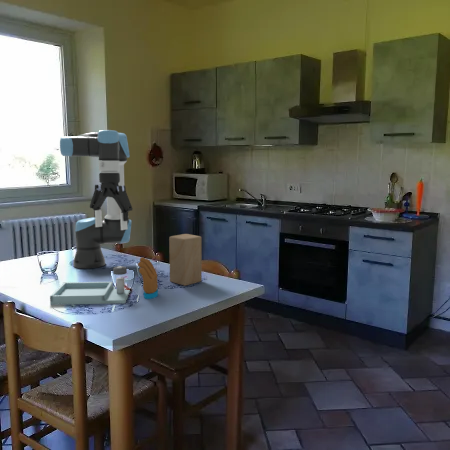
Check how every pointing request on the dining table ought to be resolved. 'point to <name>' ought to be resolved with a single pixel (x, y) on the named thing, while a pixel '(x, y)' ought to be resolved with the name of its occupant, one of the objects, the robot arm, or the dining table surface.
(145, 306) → the dining table surface
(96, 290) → the tray
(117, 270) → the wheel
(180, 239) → the wooden block
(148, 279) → the toy
